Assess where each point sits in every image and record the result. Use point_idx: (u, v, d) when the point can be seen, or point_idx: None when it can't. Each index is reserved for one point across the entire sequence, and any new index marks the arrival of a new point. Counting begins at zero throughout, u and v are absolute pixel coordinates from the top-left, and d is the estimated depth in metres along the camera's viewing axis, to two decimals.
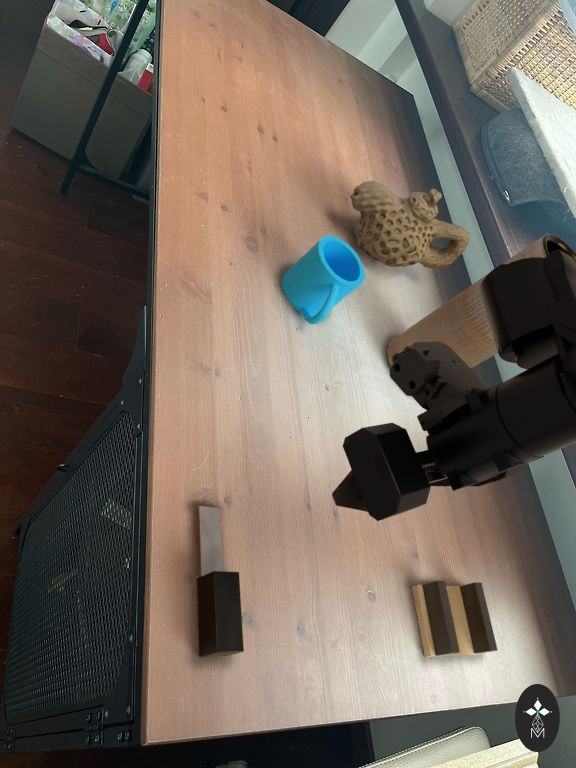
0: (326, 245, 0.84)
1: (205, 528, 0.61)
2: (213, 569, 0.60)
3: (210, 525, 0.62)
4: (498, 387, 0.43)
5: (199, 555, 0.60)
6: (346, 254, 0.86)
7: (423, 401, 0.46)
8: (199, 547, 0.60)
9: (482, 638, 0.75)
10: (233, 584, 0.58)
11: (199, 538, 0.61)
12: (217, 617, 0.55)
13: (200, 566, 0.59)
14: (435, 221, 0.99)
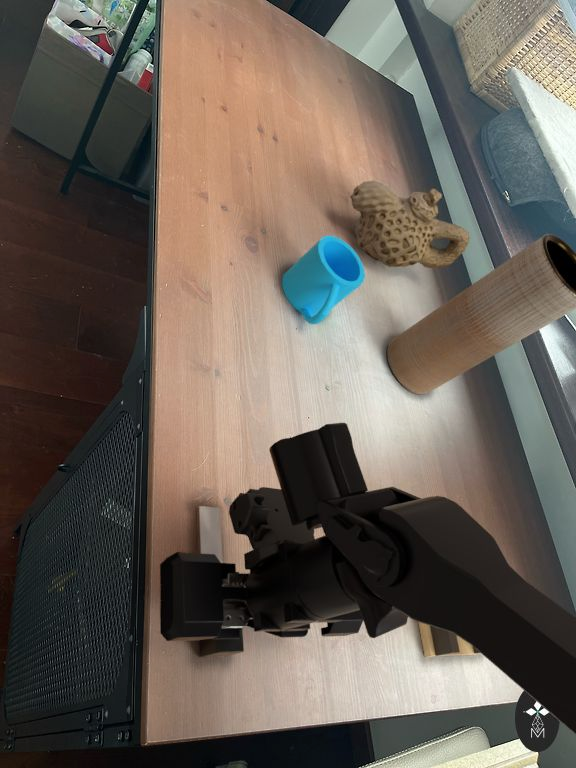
0: (326, 245, 0.84)
1: (205, 528, 0.61)
2: None
3: (210, 525, 0.62)
4: (305, 544, 0.47)
5: None
6: (346, 254, 0.86)
7: (253, 541, 0.51)
8: (199, 547, 0.60)
9: None
10: None
11: (199, 538, 0.61)
12: None
13: None
14: (435, 221, 0.99)
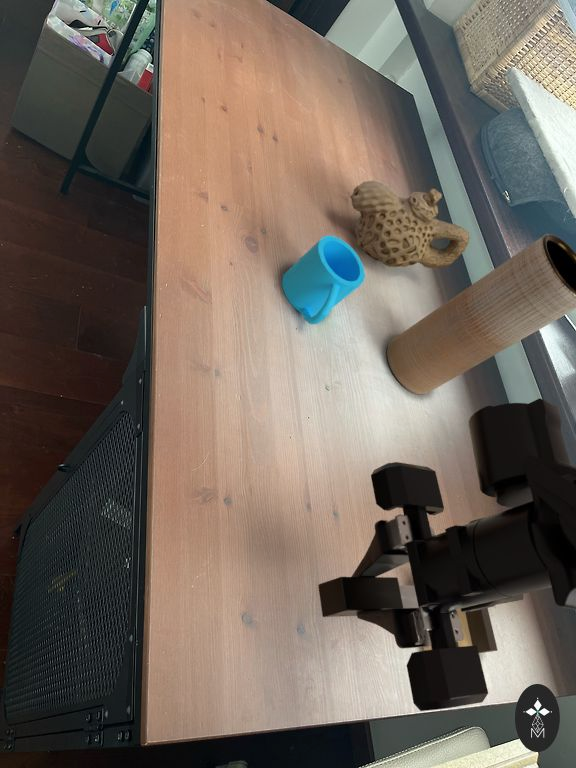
0: (326, 245, 0.84)
1: (413, 591, 0.61)
2: None
3: None
4: None
5: None
6: (346, 254, 0.86)
7: None
8: None
9: (482, 638, 0.75)
10: (393, 601, 0.56)
11: (404, 585, 0.61)
12: (366, 578, 0.55)
13: None
14: (435, 221, 0.99)
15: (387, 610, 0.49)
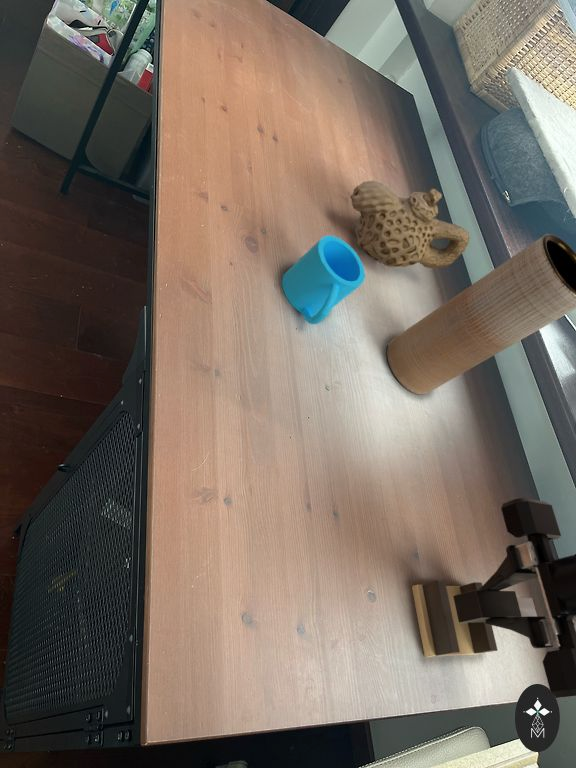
0: (326, 245, 0.84)
1: (522, 602, 0.74)
2: None
3: (525, 608, 0.74)
4: None
5: None
6: (346, 254, 0.86)
7: None
8: None
9: (482, 638, 0.75)
10: (514, 610, 0.68)
11: None
12: (493, 591, 0.67)
13: None
14: (435, 221, 0.99)
15: (521, 617, 0.62)
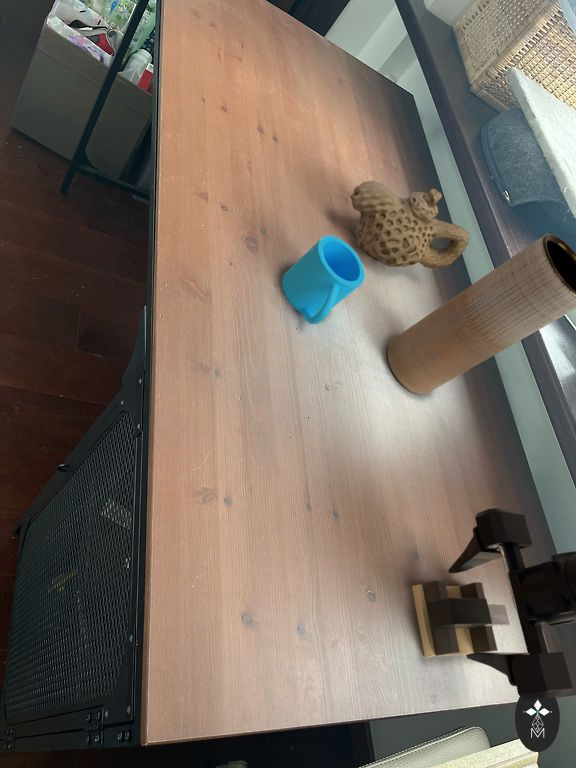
0: (326, 245, 0.84)
1: (494, 609, 0.77)
2: None
3: (498, 614, 0.76)
4: None
5: None
6: (346, 254, 0.86)
7: None
8: None
9: (482, 638, 0.75)
10: (485, 617, 0.71)
11: (487, 604, 0.76)
12: (464, 599, 0.70)
13: None
14: (435, 221, 0.99)
15: (500, 655, 0.63)
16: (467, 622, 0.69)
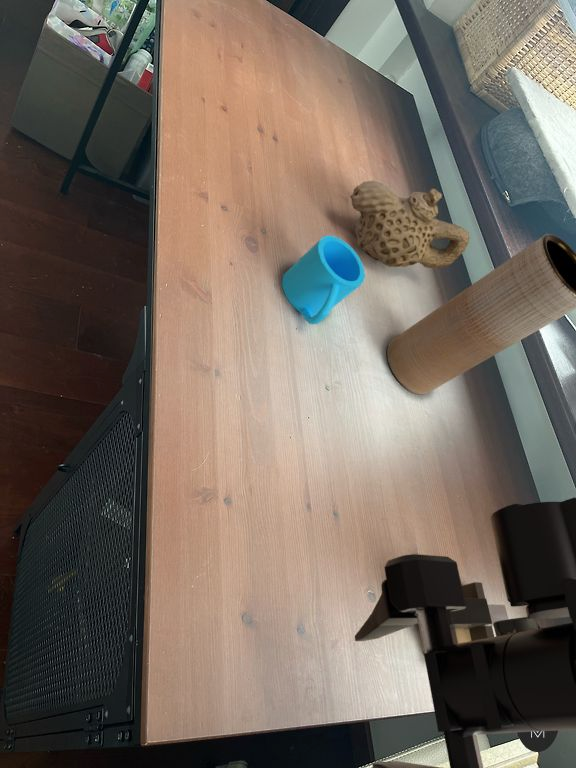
0: (326, 245, 0.84)
1: (494, 609, 0.77)
2: None
3: (498, 614, 0.76)
4: None
5: None
6: (346, 254, 0.86)
7: None
8: None
9: (482, 638, 0.75)
10: (485, 617, 0.71)
11: (487, 604, 0.76)
12: None
13: None
14: (435, 221, 0.99)
15: None
16: (467, 622, 0.69)
